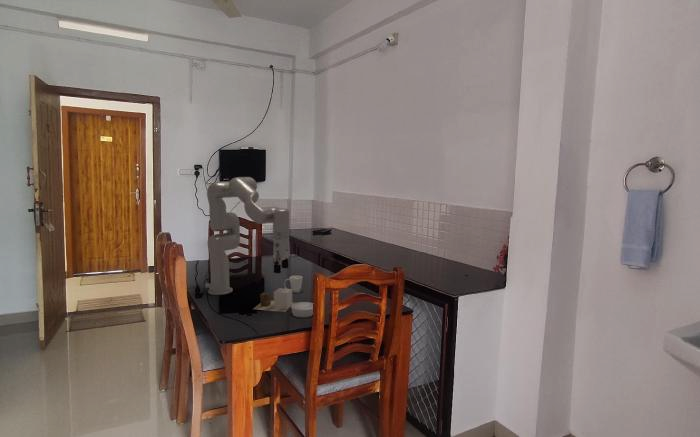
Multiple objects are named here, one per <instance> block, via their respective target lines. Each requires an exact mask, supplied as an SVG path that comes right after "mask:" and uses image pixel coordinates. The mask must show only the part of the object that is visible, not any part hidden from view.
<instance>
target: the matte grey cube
mask: <svg viewBox="0 0 700 437" xmlns="http://www.w3.org/2000/svg"><path fill="white" fill-rule="evenodd" d="M292 291H293V290H292V288H287V289H286V288H285V287H284V288H282V287H279V288H277V289H276V290H274V291H273V301H274V308H278V309H288V308H289V307H290V306H292V302H293V292H292ZM290 308H291V307H290ZM290 308H289V309H290ZM289 309H288V310H289Z"/></svg>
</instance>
